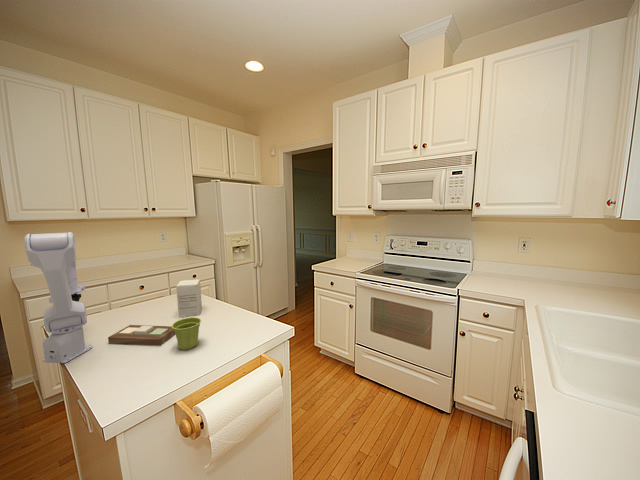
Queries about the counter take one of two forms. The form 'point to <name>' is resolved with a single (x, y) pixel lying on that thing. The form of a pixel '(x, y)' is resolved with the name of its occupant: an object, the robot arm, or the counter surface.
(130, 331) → the cream key
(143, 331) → the ivory key
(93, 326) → the counter surface
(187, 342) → the plant pot
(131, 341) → the keypad board
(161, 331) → the sage key
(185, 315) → the supplement box
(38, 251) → the robot arm
